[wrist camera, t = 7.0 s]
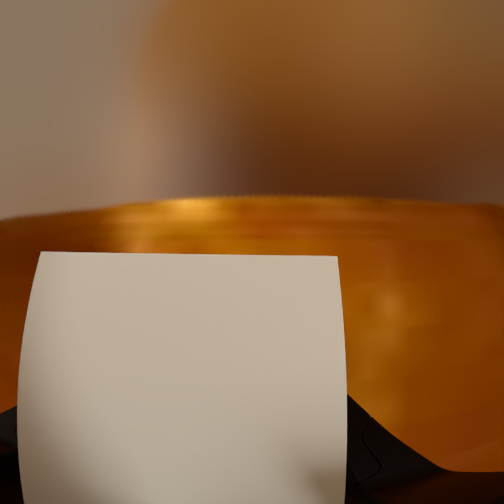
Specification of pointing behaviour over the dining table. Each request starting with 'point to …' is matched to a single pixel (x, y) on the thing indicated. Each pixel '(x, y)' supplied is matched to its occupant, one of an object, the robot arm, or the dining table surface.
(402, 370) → the dining table surface
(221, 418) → the ivory pillar block
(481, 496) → the robot arm
